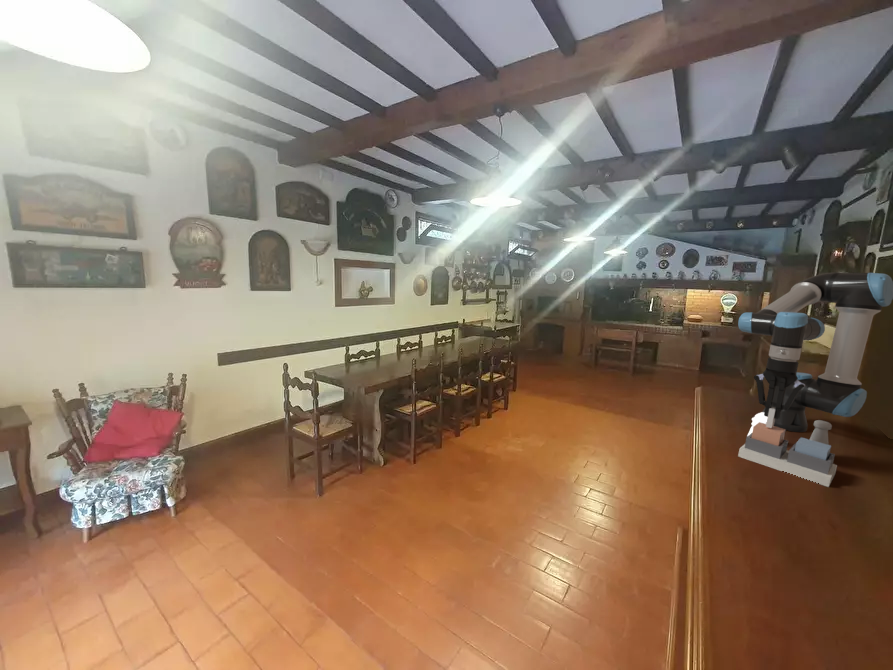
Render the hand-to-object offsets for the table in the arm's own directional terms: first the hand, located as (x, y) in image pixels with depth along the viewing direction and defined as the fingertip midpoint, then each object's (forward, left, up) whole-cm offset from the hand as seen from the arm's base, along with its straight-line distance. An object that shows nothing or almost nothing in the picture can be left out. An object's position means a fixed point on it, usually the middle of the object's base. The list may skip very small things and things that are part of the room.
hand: (769, 426), depth 123 cm
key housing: (0, +6, -12) cm, 13 cm away
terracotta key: (0, 0, -6) cm, 6 cm away
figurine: (-14, -4, -12) cm, 19 cm away
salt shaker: (-18, +11, -12) cm, 24 cm away
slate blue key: (0, +11, -7) cm, 13 cm away
